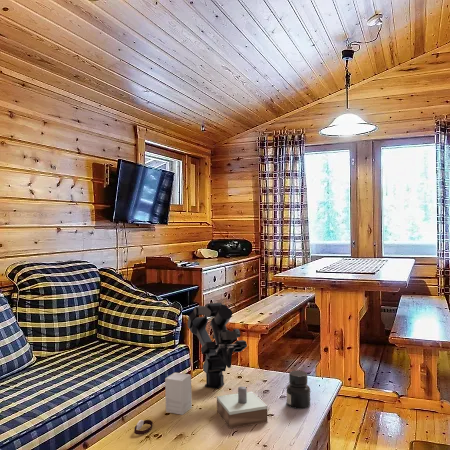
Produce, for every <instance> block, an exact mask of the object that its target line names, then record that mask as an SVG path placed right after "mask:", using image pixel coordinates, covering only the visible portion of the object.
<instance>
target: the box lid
mask: <svg viewBox="0 0 450 450" xmlns="http://www.w3.org/2000/svg"><path fill="white" fill-rule="evenodd" d="M217 400H218V401H219V402H220V404H221V405H222V406H223V407H224V409H225V410H226V411H227V412H228V413H229V415H232V414H238V413H244V412H250V411H256V410H263V409H267V410H268V405H267V404H266V403H265V402H264V401H263V400H262V399H261V398H260V397H259V396H257V394H256V393H255V392H253V391H247V387H246V386H238V388H237V393H230V394H225V395H224V394H223V395H218V396H216V401H217Z"/></svg>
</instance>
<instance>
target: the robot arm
mask: <svg viewBox="0 0 450 450" xmlns="http://www.w3.org/2000/svg"><path fill="white" fill-rule="evenodd" d="M197 316H198V317H197ZM232 317H233V311H232V310H231V309H230V308H229V307H227V306H226V304H223V303H222V302H210V303H206V304H204V305H199V306H197V305H196V306H194V308H193V311H192V312H191V313H190V314H189V315H188V319H187V328H188V330H189V331H190V333H191V334H193V335H195V336H196V337H197V338H198V342H199V343H200V345H201V347H200V351H201V355H206V356H205V360H204V362H203V365H202V370H203V372H204V373H205V375H206V376H205V378H206V383H205V384H204V387H205V388H210V389H211V388H212V389H216V390H217V389H220V388H221V387H223V386H224V385H225V382H224V381H225V380H224V374H223V372H226V369H227V368H228V369H230V368H232V360H233V353H241V352H243V350H245V349H246V348H247V347H248V343H247V341H246V340H243V339H242V340H241V339H239V340H238V338H241V331H240V329H239V328H234V329H233V330H232V331H231V330H230V329H228V328H227V325H228V323H229V322H230V320H231V318H232ZM208 318H212V319H211V320H210V323H209V324H210V325H209V326H210V327H211V329H212V330H211V331H212V333H213V335H212V338H211V337H210V335H209V333H208V330H207V324H208V321H209V319H208ZM212 339H213V340H214V341H212ZM234 340H235V342H234ZM233 342H234V343H233Z"/></svg>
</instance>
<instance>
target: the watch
mask: <svg viewBox="0 0 450 450" xmlns="http://www.w3.org/2000/svg"><path fill="white" fill-rule="evenodd" d="M153 424H154V422H153V420H151V419H145V420H143V419H140V420H138V421H137V423H136V425H135V426H134V428H133V429H134V431H133V432H134V434H135V435H138V436H142V435H146V434H147V433H149V432H150V431H151V430H152V427H153ZM144 425H149V427H147V428H146V429H143V430H141V429H142V428H143V426H144Z"/></svg>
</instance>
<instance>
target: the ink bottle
mask: <svg viewBox="0 0 450 450" xmlns="http://www.w3.org/2000/svg"><path fill="white" fill-rule="evenodd" d="M288 377H289V378H288V379H289V380H288V381H289V384H288V385H286V405H287V406H288V407H290V408H292V409H297V410H304V409H307V408H309V407H310V406H311V388H310V386H309V385H308V373H307V371H303V370H292V371H289V373H288Z"/></svg>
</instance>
